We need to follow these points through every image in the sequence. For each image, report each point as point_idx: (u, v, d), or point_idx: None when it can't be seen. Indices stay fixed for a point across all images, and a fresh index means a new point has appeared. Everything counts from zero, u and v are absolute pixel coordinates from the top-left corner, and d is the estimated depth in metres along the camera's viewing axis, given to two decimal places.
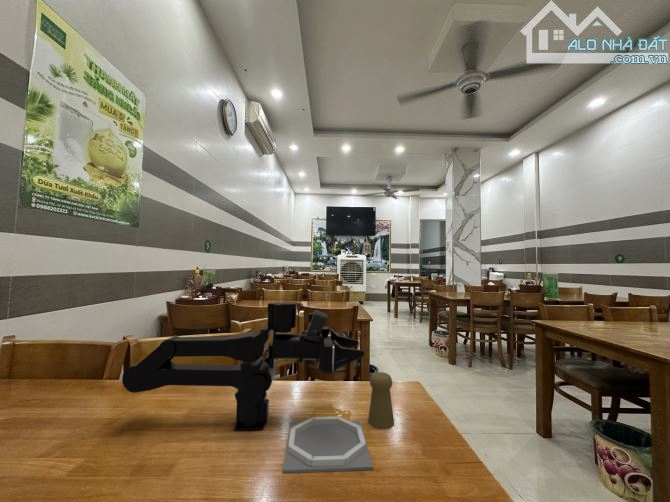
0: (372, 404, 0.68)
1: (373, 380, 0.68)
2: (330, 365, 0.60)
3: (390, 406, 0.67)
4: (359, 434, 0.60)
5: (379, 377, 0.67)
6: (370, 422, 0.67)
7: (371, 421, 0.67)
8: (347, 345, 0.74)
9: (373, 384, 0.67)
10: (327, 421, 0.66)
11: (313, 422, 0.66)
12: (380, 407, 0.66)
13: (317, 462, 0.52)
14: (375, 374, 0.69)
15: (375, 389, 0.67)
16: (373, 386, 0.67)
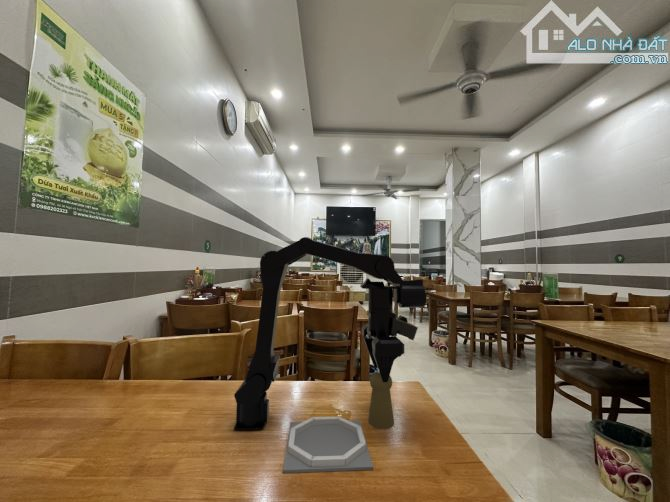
0: (372, 404, 0.68)
1: (373, 380, 0.68)
2: (384, 352, 0.60)
3: (390, 406, 0.67)
4: (359, 434, 0.60)
5: (379, 377, 0.67)
6: (370, 422, 0.67)
7: (371, 421, 0.67)
8: (373, 356, 0.74)
9: (373, 384, 0.67)
10: (327, 421, 0.66)
11: (313, 422, 0.66)
12: (380, 407, 0.66)
13: (317, 462, 0.52)
14: (375, 374, 0.69)
15: (375, 389, 0.67)
16: (373, 386, 0.67)
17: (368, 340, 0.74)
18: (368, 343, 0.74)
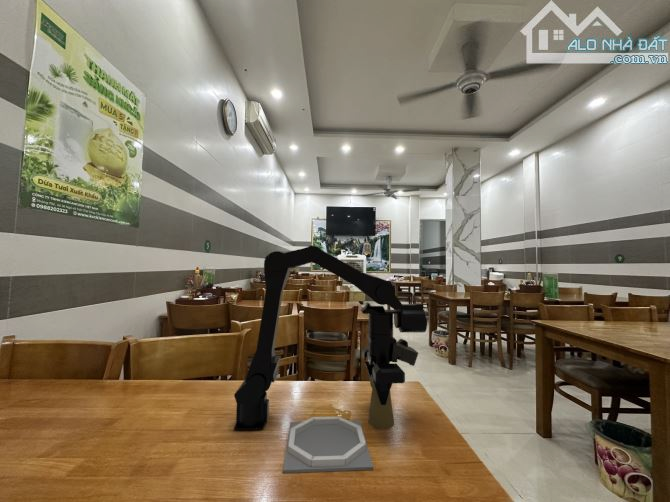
0: (372, 404, 0.68)
1: None
2: (385, 381, 0.60)
3: (390, 406, 0.67)
4: (359, 434, 0.60)
5: None
6: (370, 422, 0.67)
7: (371, 421, 0.67)
8: None
9: (373, 384, 0.67)
10: (327, 421, 0.66)
11: (313, 422, 0.66)
12: (380, 407, 0.66)
13: (317, 462, 0.52)
14: None
15: (375, 389, 0.67)
16: (373, 386, 0.67)
17: (370, 366, 0.72)
18: (370, 369, 0.72)
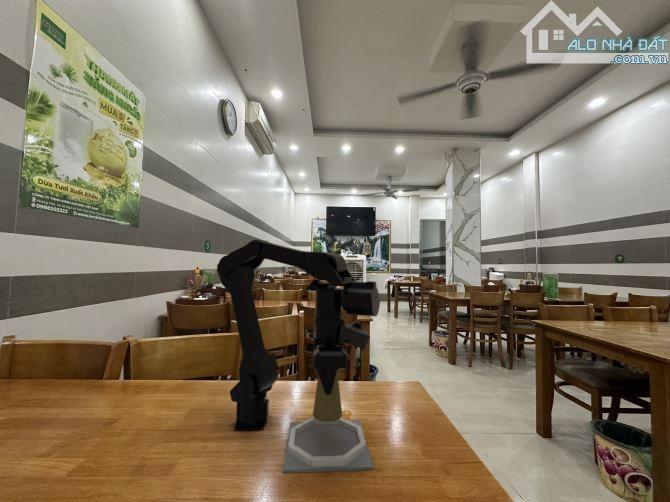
0: (317, 394, 0.59)
1: None
2: (323, 366, 0.52)
3: (337, 396, 0.59)
4: (359, 434, 0.60)
5: None
6: (314, 414, 0.59)
7: (315, 413, 0.59)
8: None
9: None
10: None
11: (313, 422, 0.66)
12: (325, 396, 0.58)
13: (317, 462, 0.52)
14: None
15: None
16: None
17: None
18: None
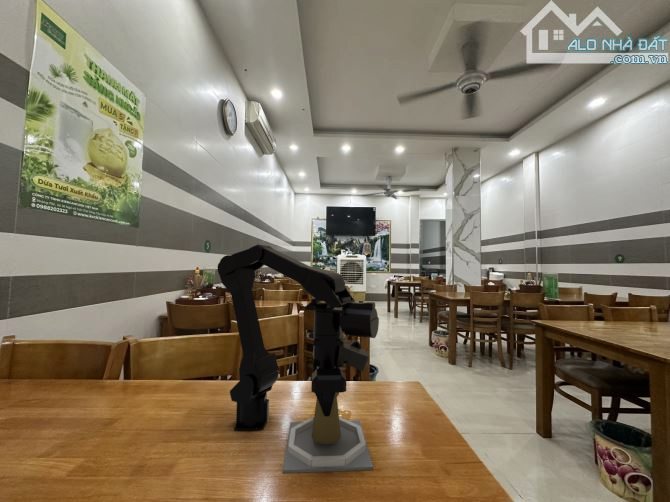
0: (315, 415, 0.59)
1: None
2: (322, 390, 0.51)
3: (336, 417, 0.59)
4: (359, 434, 0.60)
5: None
6: (313, 436, 0.59)
7: (313, 434, 0.58)
8: None
9: None
10: None
11: None
12: (323, 418, 0.58)
13: (317, 462, 0.52)
14: None
15: None
16: None
17: None
18: None
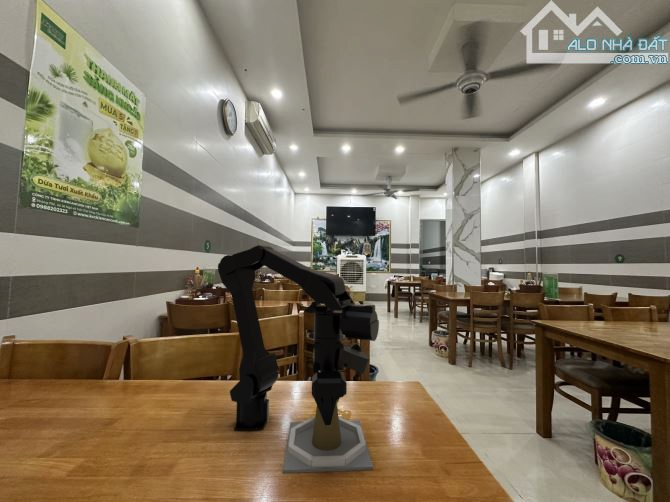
0: (316, 421, 0.59)
1: None
2: (322, 393, 0.51)
3: (336, 424, 0.59)
4: (359, 434, 0.60)
5: None
6: (313, 442, 0.59)
7: (314, 441, 0.58)
8: None
9: None
10: None
11: (313, 422, 0.66)
12: (324, 425, 0.58)
13: (317, 462, 0.52)
14: None
15: None
16: None
17: (317, 371, 0.65)
18: None
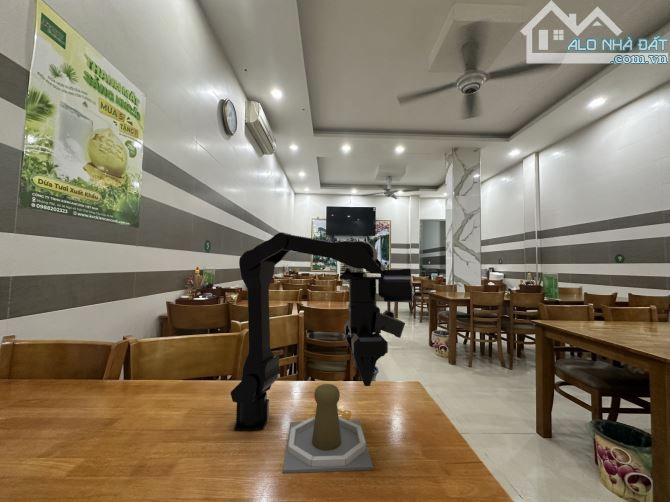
0: (316, 421, 0.59)
1: (317, 394, 0.59)
2: (364, 352, 0.52)
3: (336, 424, 0.59)
4: (359, 434, 0.60)
5: (324, 390, 0.59)
6: (313, 442, 0.59)
7: (314, 441, 0.58)
8: None
9: (316, 398, 0.59)
10: None
11: (313, 422, 0.66)
12: (324, 425, 0.58)
13: (317, 462, 0.52)
14: (320, 386, 0.60)
15: (319, 404, 0.59)
16: (317, 401, 0.59)
17: (351, 338, 0.66)
18: (351, 342, 0.66)
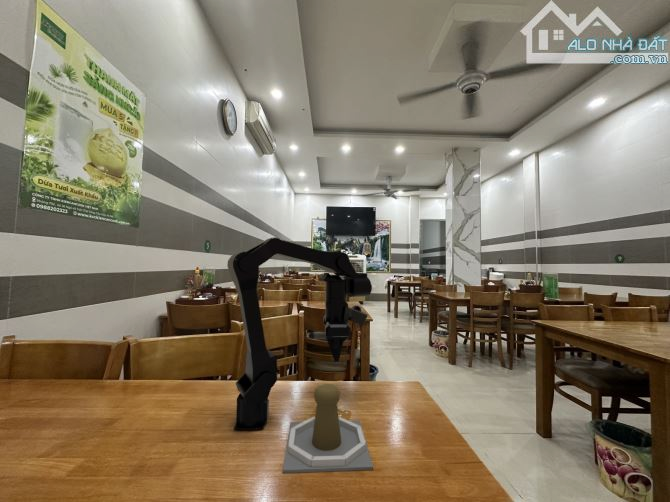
0: (316, 421, 0.59)
1: (317, 394, 0.59)
2: (333, 335, 0.71)
3: (336, 424, 0.59)
4: (359, 434, 0.60)
5: (324, 390, 0.59)
6: (313, 442, 0.59)
7: (314, 441, 0.58)
8: None
9: (316, 398, 0.59)
10: None
11: (313, 422, 0.66)
12: (324, 425, 0.58)
13: (317, 462, 0.52)
14: (320, 386, 0.60)
15: (319, 404, 0.59)
16: (317, 401, 0.59)
17: None
18: None
